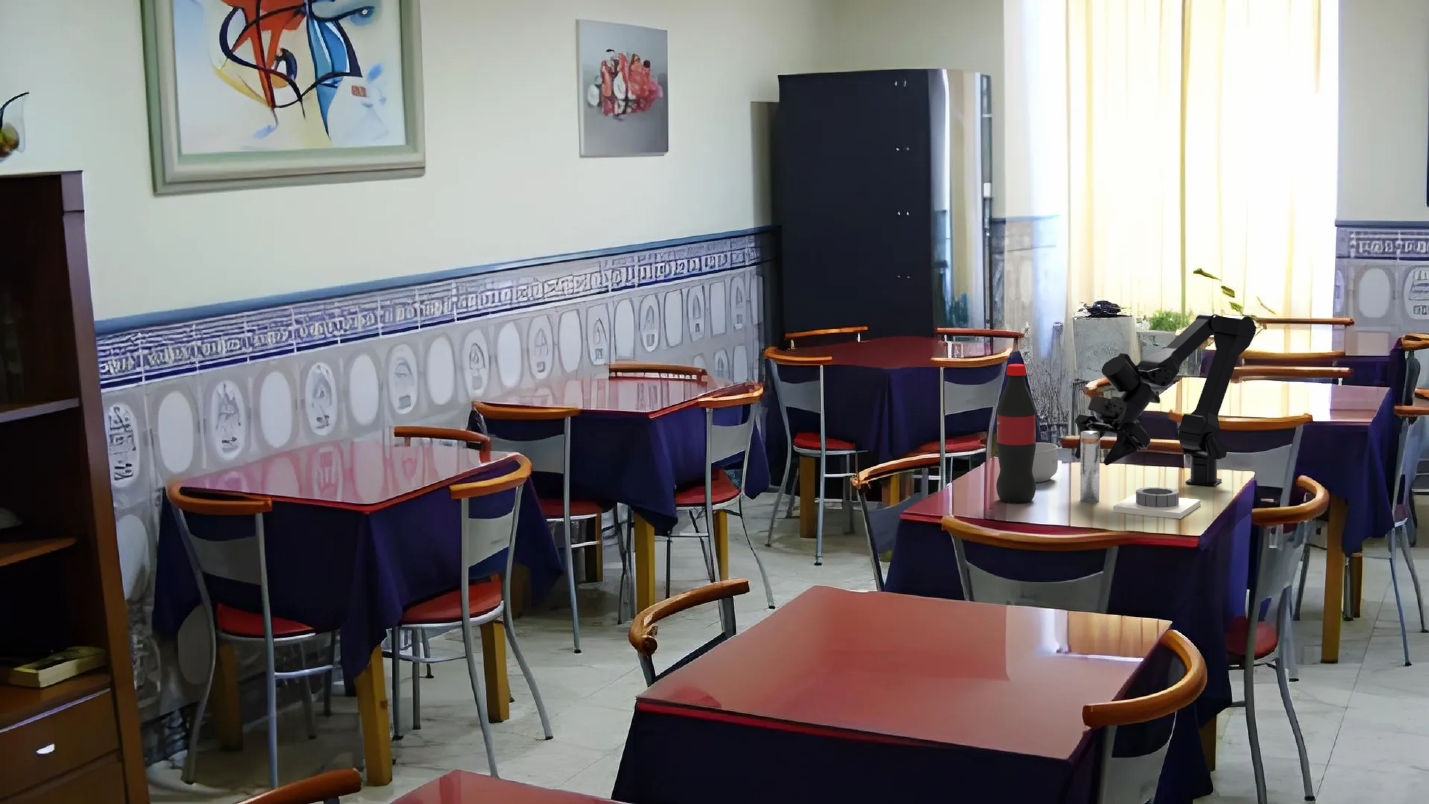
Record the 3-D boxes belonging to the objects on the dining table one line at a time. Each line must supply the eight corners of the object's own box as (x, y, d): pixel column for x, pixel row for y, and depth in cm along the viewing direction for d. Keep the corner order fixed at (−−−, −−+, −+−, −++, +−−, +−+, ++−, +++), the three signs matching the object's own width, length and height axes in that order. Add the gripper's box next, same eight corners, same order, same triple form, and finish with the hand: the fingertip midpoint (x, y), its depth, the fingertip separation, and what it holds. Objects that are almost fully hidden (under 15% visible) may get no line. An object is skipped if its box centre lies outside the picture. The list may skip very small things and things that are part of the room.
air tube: (1083, 497, 318) (1084, 430, 315) (1102, 499, 315) (1102, 431, 313) (1077, 501, 314) (1077, 433, 312) (1095, 503, 312) (1096, 434, 310)
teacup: (1062, 484, 333) (1062, 449, 332) (1014, 485, 333) (1014, 450, 332) (1049, 472, 347) (1049, 439, 346) (1004, 473, 347) (1004, 440, 346)
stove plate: (1135, 498, 315) (1135, 482, 315) (1200, 505, 307) (1200, 488, 307) (1113, 511, 304) (1113, 494, 303) (1180, 518, 296) (1180, 501, 296)
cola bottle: (1033, 496, 321) (1033, 361, 316) (1038, 504, 313) (1038, 366, 308) (994, 496, 322) (994, 362, 317) (998, 505, 313) (998, 367, 309)
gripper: (1081, 377, 322) (1041, 431, 319) (1141, 386, 305) (1099, 443, 302) (1108, 409, 327) (1069, 462, 323) (1168, 420, 310) (1128, 476, 307)
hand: (1090, 460), depth 314 cm, fingers open, 9 cm apart
